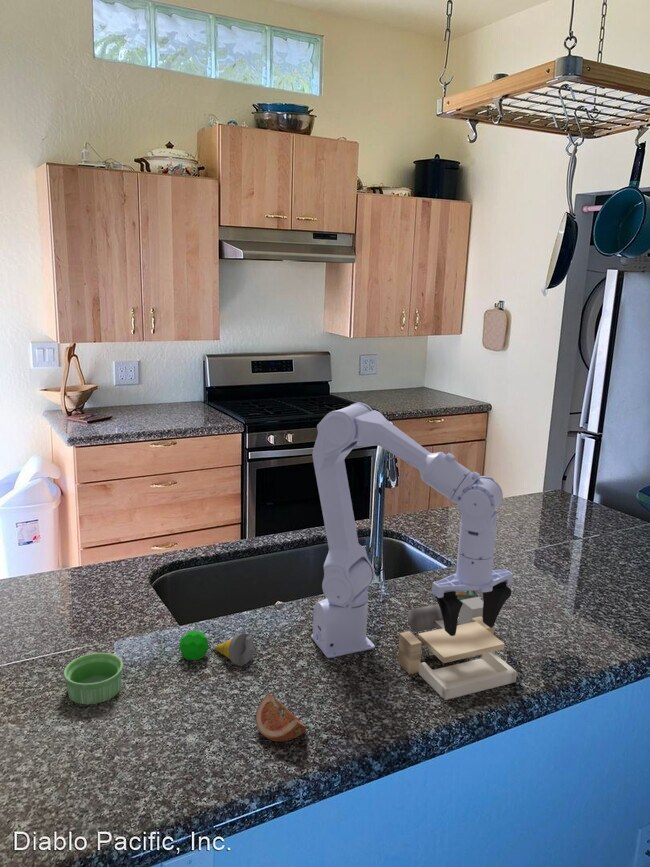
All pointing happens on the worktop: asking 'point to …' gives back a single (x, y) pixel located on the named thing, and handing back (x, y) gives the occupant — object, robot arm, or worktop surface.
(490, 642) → the trapdoor
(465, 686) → the tray
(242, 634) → the ice cream cone
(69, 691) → the ramekin
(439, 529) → the worktop surface
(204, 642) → the polyhedron
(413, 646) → the trapdoor posts
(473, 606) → the grey rectangular block
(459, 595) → the dragon figurine
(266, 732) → the fruit slice
